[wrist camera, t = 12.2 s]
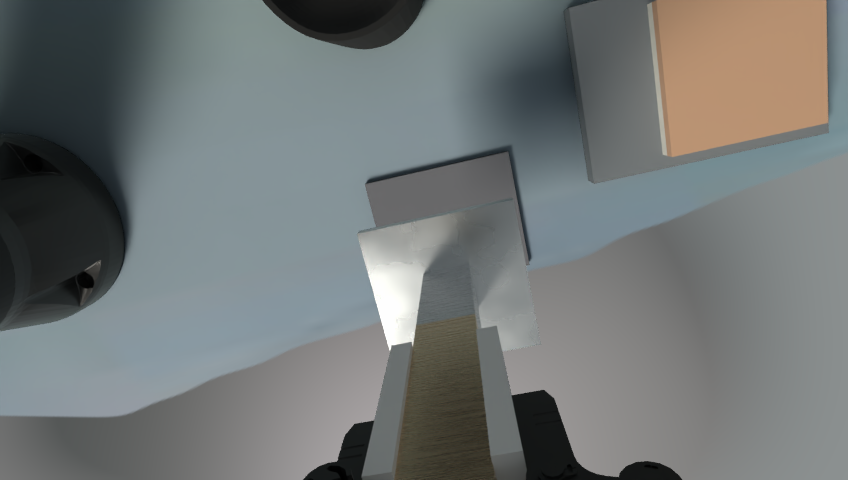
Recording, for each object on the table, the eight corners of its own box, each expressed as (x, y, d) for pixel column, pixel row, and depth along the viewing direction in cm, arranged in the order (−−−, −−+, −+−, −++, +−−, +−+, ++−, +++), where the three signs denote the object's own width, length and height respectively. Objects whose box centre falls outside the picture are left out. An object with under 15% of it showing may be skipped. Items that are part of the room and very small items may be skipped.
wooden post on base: (396, 365, 28) (315, 782, 11) (359, 230, 26) (187, 488, 9) (539, 339, 27) (690, 747, 10) (512, 197, 25) (646, 412, 8)
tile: (672, 157, 34) (828, 122, 33) (656, 0, 31) (825, -43, 30) (662, 154, 35) (812, 121, 34) (647, 4, 32) (808, -37, 31)
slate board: (588, 180, 37) (594, 183, 36) (563, 11, 34) (568, 7, 33) (813, 131, 36) (828, 132, 34) (808, -52, 32) (825, -59, 31)
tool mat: (394, 289, 40) (393, 292, 40) (365, 183, 38) (364, 184, 38) (528, 262, 39) (529, 264, 39) (507, 151, 37) (508, 151, 36)
